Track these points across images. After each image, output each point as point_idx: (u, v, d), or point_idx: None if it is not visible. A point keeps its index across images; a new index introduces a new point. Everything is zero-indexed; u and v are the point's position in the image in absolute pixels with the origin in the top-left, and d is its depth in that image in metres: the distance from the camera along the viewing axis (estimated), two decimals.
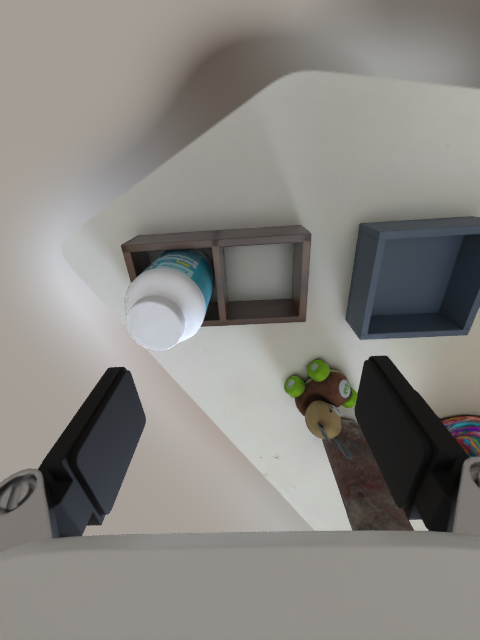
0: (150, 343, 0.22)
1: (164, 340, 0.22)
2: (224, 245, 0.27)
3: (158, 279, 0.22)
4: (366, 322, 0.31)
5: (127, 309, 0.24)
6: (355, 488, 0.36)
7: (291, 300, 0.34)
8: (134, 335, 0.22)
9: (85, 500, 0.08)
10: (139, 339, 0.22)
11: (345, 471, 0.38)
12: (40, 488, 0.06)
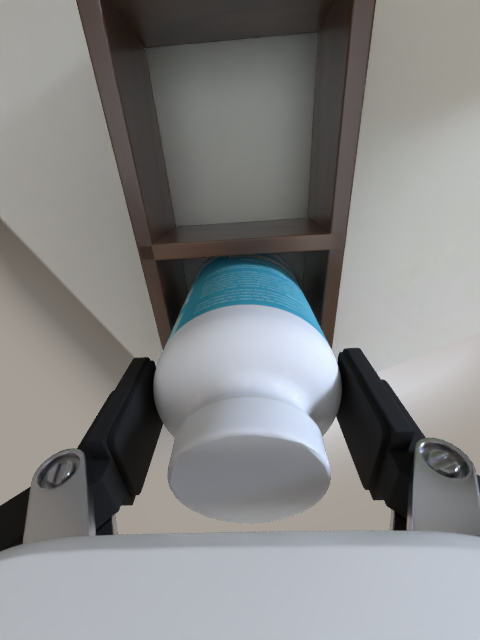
0: (300, 494, 0.08)
1: (296, 471, 0.07)
2: (147, 232, 0.12)
3: (160, 410, 0.10)
4: None
5: None
6: None
7: (320, 31, 0.12)
8: (273, 515, 0.08)
9: (120, 480, 0.08)
10: (285, 510, 0.08)
11: None
12: (84, 465, 0.07)
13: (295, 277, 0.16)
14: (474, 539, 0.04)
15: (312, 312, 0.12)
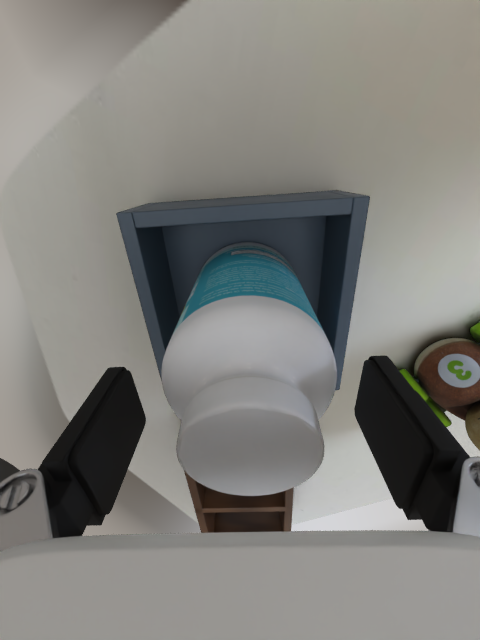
0: (297, 467, 0.09)
1: (293, 444, 0.08)
2: (200, 506, 0.27)
3: (168, 393, 0.11)
4: None
5: None
6: None
7: None
8: (272, 487, 0.09)
9: (85, 500, 0.08)
10: (283, 483, 0.09)
11: None
12: (40, 488, 0.06)
13: (295, 273, 0.17)
14: (474, 539, 0.04)
15: (310, 305, 0.13)
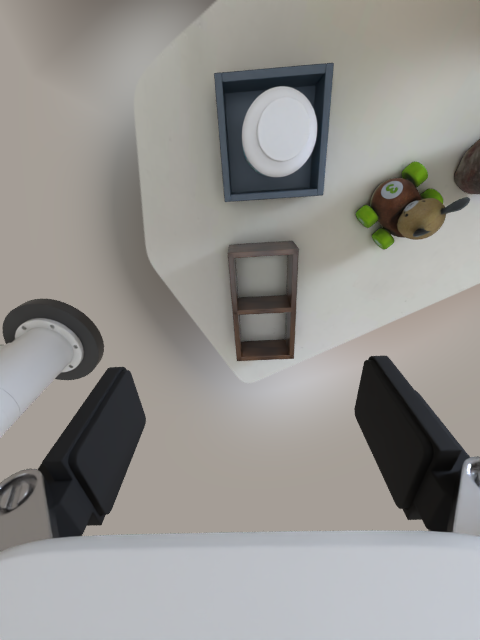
0: (300, 137, 0.23)
1: (299, 120, 0.23)
2: (236, 307, 0.42)
3: (247, 132, 0.25)
4: (304, 193, 0.34)
5: (274, 170, 0.27)
6: None
7: None
8: (291, 153, 0.24)
9: (85, 500, 0.08)
10: (295, 149, 0.24)
11: None
12: (40, 488, 0.06)
13: None
14: (474, 539, 0.04)
15: None
